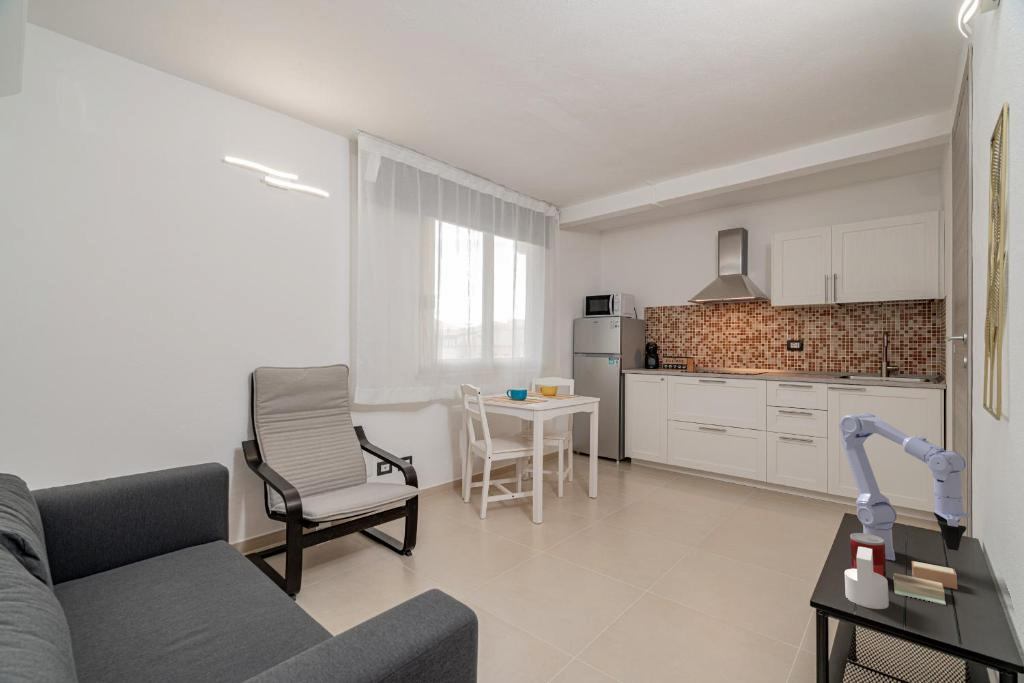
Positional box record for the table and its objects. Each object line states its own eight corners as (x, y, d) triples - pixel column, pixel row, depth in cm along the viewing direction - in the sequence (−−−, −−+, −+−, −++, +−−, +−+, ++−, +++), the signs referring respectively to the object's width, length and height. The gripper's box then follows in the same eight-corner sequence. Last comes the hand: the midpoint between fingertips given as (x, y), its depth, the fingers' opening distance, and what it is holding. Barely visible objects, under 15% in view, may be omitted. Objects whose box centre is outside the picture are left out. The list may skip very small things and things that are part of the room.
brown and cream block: (912, 574, 135) (911, 560, 135) (954, 583, 129) (954, 568, 129) (913, 580, 131) (912, 566, 131) (957, 589, 126) (956, 574, 126)
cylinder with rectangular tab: (846, 587, 128) (844, 543, 129) (888, 598, 122) (886, 551, 123) (844, 601, 121) (842, 554, 122) (888, 613, 116) (886, 563, 116)
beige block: (894, 580, 131) (893, 572, 131) (942, 590, 125) (941, 582, 125) (894, 588, 126) (894, 581, 126) (944, 599, 120) (944, 591, 120)
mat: (893, 577, 133) (893, 576, 133) (940, 587, 127) (940, 586, 127) (894, 594, 124) (894, 592, 124) (945, 605, 118) (945, 604, 118)
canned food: (892, 583, 130) (890, 543, 130) (860, 581, 131) (858, 542, 132) (877, 571, 137) (875, 533, 138) (846, 569, 139) (844, 532, 139)
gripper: (972, 504, 122) (975, 557, 122) (963, 491, 134) (966, 539, 133) (936, 500, 126) (939, 551, 126) (930, 487, 138) (933, 534, 137)
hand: (950, 544), depth 130 cm, fingers open, 7 cm apart
